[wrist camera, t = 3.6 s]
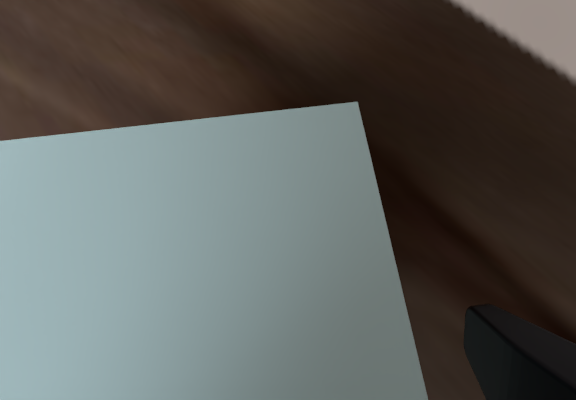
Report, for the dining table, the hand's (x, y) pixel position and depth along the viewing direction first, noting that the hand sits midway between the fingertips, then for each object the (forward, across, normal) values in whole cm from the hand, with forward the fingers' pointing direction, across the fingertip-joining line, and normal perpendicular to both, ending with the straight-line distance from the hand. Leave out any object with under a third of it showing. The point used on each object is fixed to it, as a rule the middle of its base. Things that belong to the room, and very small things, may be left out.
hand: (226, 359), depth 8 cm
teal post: (+6, 0, +6) cm, 8 cm away
